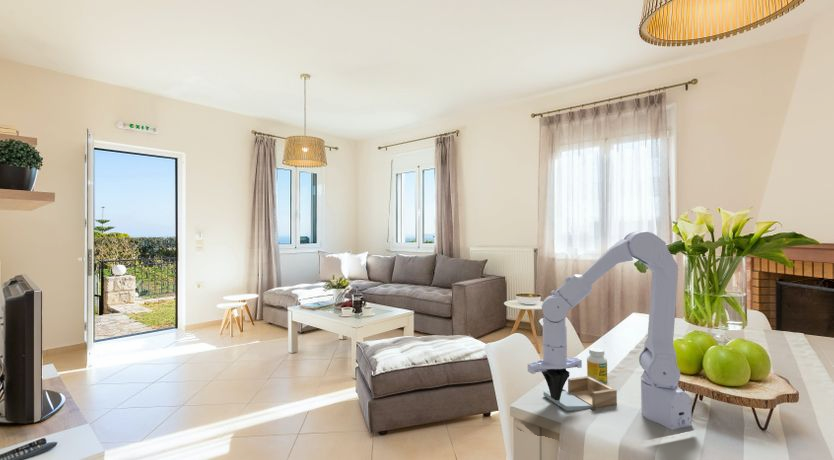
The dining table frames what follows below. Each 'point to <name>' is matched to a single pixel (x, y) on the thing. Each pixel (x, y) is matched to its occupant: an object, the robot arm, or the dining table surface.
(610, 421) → the dining table surface
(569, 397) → the panel
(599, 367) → the supplement bottle
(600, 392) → the crate
